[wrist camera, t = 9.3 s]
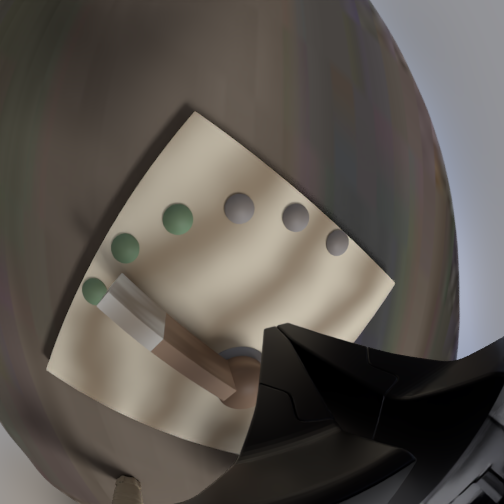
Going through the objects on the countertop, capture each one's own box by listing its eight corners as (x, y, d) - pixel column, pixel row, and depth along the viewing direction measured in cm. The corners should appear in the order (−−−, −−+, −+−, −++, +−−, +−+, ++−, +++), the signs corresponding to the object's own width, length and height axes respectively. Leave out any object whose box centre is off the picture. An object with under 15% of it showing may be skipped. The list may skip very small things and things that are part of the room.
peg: (273, 372, 21) (289, 401, 17) (238, 400, 21) (249, 431, 17) (136, 256, 17) (123, 273, 13) (101, 297, 17) (84, 321, 13)
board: (387, 279, 24) (396, 283, 23) (242, 448, 25) (244, 456, 24) (194, 115, 17) (195, 110, 16) (50, 362, 18) (45, 370, 17)
